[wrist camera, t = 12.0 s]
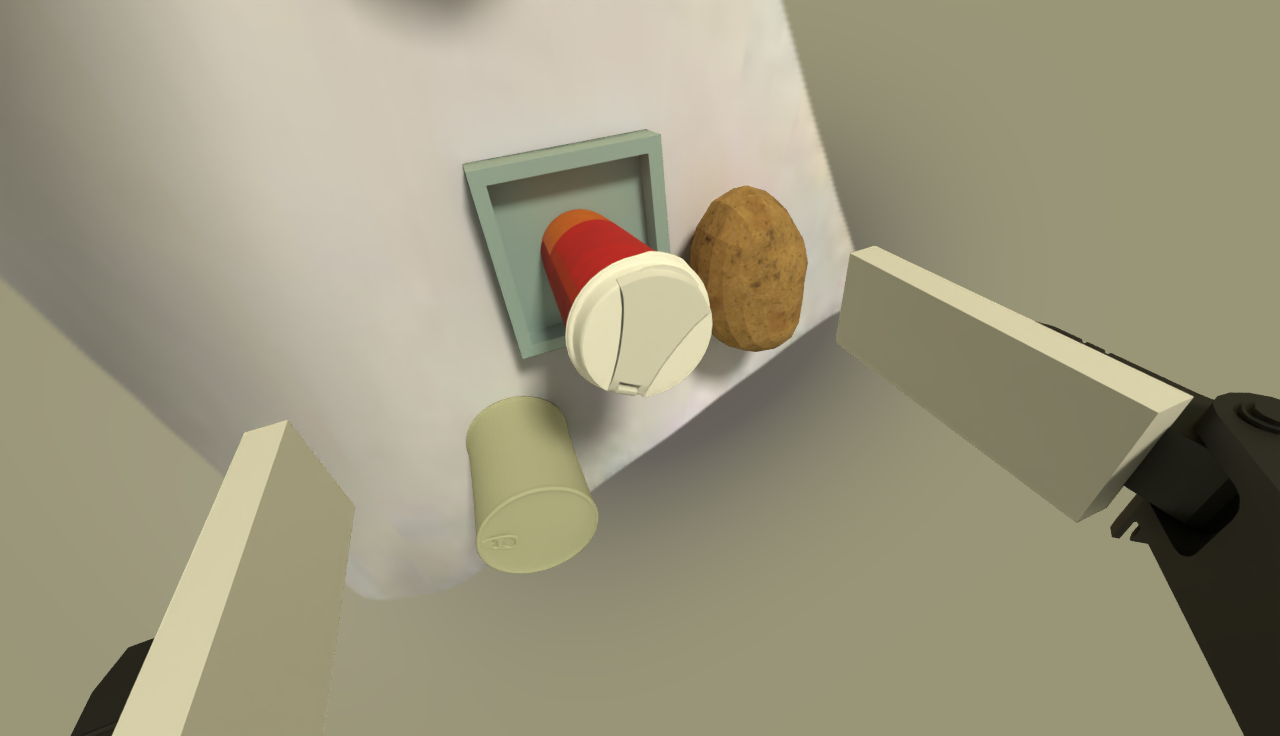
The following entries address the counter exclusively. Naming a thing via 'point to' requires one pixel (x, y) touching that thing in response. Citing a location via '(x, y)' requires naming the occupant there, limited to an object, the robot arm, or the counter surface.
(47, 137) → the counter surface
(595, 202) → the tray
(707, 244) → the potato
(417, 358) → the counter surface
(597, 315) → the coffee cup
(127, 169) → the counter surface
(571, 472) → the can
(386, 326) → the counter surface
